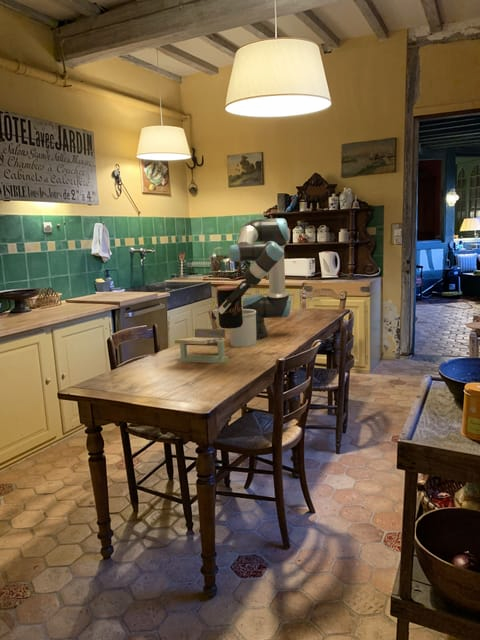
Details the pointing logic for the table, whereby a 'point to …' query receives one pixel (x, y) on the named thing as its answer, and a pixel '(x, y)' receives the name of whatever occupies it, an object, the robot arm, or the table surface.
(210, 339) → the seesaw plank
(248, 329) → the utensil holder
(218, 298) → the coffee jar
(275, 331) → the table surface
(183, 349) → the seesaw stand
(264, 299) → the robot arm
